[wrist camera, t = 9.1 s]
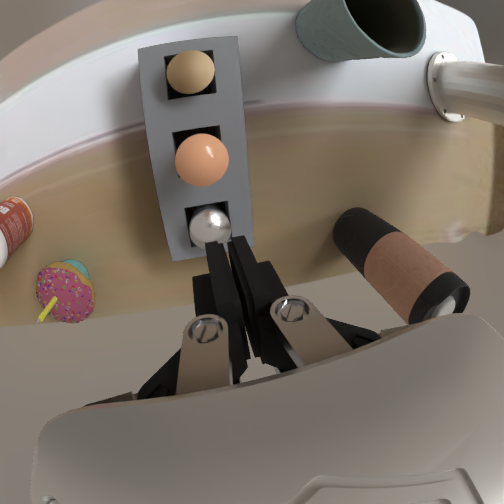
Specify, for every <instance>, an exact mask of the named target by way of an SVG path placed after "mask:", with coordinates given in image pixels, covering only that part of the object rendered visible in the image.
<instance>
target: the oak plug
mask: <svg viewBox="0 0 504 504" xmlns="http://www.w3.org/2000/svg"><path fill="white" fill-rule="evenodd" d="M214 72H215V68H214V64H213V62H212V60H211V58H210V57H209V56H208V55H206V54H205V53H203V52H200V51H196V50H189V51H184V52H182V53H179V54H178V55H176V56H175V57H174V58H173V59H172V60H171V61H170V63H169V65H168V68H167V79H168V81H169V83H170V85H171V86H172V88H173V89H175V90H176V91H178V92H180V93H183V94H194V93H197V92H200V91H202V90H203V89H205V88H206V87H207V86H208V85H209V83H210V82H211V81H212V79H213V76H214Z"/></svg>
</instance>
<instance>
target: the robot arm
mask: <svg viewBox="0 0 504 504" xmlns="http://www.w3.org/2000/svg"><path fill="white" fill-rule="evenodd" d="M427 78H428V88H429V92H430V96H431V98H432V101H433V103H434V106H435V108H436V109H437V111H438V112H439V114H440V115H441V116H442V117H443V118H445V119H446V120H449V121H452V122H459V121H461V120H463V119H464V118H465V116H468V117H472V118H476V119H480V120H484V121H487V122H491V123H494V124H497V125H501V126H504V66H503V65H495V64H488V63H479V62H468V61H459V60H458V59H457V58H456V57H455V56H454V55H453V54H451V53H449V52H438V53H436V54H434V55H433V57H432V58H431V60H430V62H429V66H428V73H427ZM227 246H228V252H229V258H230V264H231V268H230V265H229V261H228V258H227V255H226V251H225V248H224V245H223V243H219V244H218V241H212V242H207V243H205V249H206V255H207V261H208V267H209V272H210V273H208V274H204V275H199V276H194V277H192V281H193V292H194V303H195V313H196V318H194V319H192V320H191V321H190V322H189V323H188V324H187V325H186V326H185V329H184V332H183V339H182V346H181V348H180V350H179V351H178V352H176V353H175V354H174V356H172V357H171V358H170V359H169V360H168V361H167V363H165V364H164V365H163V366H162V367H161V368H160V369H159V370H158V371H157V372H156V373H155V374H154V375H153V376H152V377H151V378H150V379H149V380H148V381H147V382H146V383H145V384H144V385H143V386H142V387H141V389H140V390H139V392H138V393H136V394H133V393H132V392H128V393H125V394H122V395H118V396H115V397H112V398H108V399H105V400H101V401H98V402H94V403H90V404H87V405H85V406H83V407H81V408H77V409H74V410H70V411H67V412H65V413H63V414H61V415H58V416H56V417H55V418H53V419H51V420H50V421H48V422H47V423H46V424H45V426H44V427H43V428H42V430H41V432H40V435H39V437H38V440H37V444H36V449H35V453H34V459H33V466H32V478H31V504H504V338H503V337H502V336H501V335H500V334H499V333H498V332H497V331H495V329H494V328H492V326H490V325H489V324H488V323H487V322H486V321H484V320H483V319H482V318H480V317H478V316H476V315H473V314H468V313H454V314H447V315H443V316H438V317H435V318H432V319H429V320H426V321H423V322H420V323H415V324H411V325H406V326H401V327H396V328H390V329H385V330H381V331H380V333H379V334H377V333H376V332H374V331H371V330H368V329H365V328H361V327H357V326H354V325H350V324H347V323H343V322H339V321H336V320H332V319H329V318H325V317H324V316H323V315H322V314H321V313H320V311H319V310H318V309H317V308H316V307H315V306H314V305H313V304H312V303H311V302H310V301H309V300H308V299H306V298H304V297H301V296H296V295H291V296H289V295H288V294H287V292H286V290H285V288H284V286H283V284H282V282H281V281H280V279H279V277H278V275H277V273H276V271H275V270H274V268H273V266H272V264H271V262H270V261H265V262H260V263H257V261H256V259H255V257H254V255H253V253H252V251H251V248H250V246H249V244H248V242H247V240H246V238H245V236H244V235H242V236H237V237H232V238H231V241H229V242H227ZM231 270H232V271H231ZM245 327H246V329H245ZM246 331H247V334H248V337H249V340H250V343H251V347H252V350H253V353H254V356H255V358H256V357H260V358H261V361H262V363H263V364H265V363H266V364H269V365H271V366H274V368H275V371H276V374H275V375H272V376H268V377H264V378H260V379H256V380H252V381H248V382H243V383H242V382H241V378H240V377H241V375H242V374H243V373H244V372H245V370H246V369H247V367H248V366H247V361H246V360H247V359H251V357H250V352H249V346H248V341H247V335H246Z"/></svg>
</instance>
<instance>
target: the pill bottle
mask: <svg viewBox="0 0 504 504" xmlns="http://www.w3.org/2000/svg"><path fill="white" fill-rule="evenodd" d="M32 228H33V215H32V212H31V210H30V208H29V206H28V205H27V203H26V202H25V201H24V200H22V199H21V198H19V197H9V198H7V199H6V200H4V201H3V202H2V203H0V268H1V267H2V266H3V265H4V264H5V263H6V261H7V260H8V259H9V258H10V257H11V255H12V254H13V253H14V252H15V251H16V250H17V248H18V247H19V246H20V245H21V244H22V243H23V242H24V241H25V240H26V239H27V238H28V236H29V235H30V233H31V231H32Z"/></svg>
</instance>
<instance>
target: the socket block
mask: <svg viewBox="0 0 504 504" xmlns="http://www.w3.org/2000/svg"><path fill="white" fill-rule="evenodd" d="M189 50H196V51H200V52H203V53H205V54H206V55H208V56H209V57H210V58H211V60H212V62H213V64H214V68H215V72H214V76H213V79H212V81H211V82H210V83H211V94H205V95H197V96H190V97H184V98H178V99H172V100H170V90H169V81H168V79H167V65H169V63H170V61H171V60H172V59H173V58H174V57H175V56H176V55H178V54H179V53H182V52H184V51H189ZM138 60H139V73H140V84H141V93H142V102H143V111H144V118H145V126H146V133H147V139H148V146H149V152H150V158H151V164H152V170H153V175H154V180H155V186H156V191H157V196H158V201H159V206H160V210H161V215H162V219H163V224H164V228H165V233H166V237H167V241H168V245H169V249H170V253H171V257H172V261H173V262H175V261H180V260H185V259H191V258H196V257H202V256H207V255H206V249H202V248H200V247H198V246H197V245H195V244H194V242H193V241H192V239H191V237H190V230H189V221H188V216H187V210H186V208H187V207H193V206H198V205H204V204H210V203H216V202H222V201H223V205H224V213H225V214H226V216H227V218H228V220H229V222H230V225H231V234H230V237H229V239H228V241H227V242H229V241H231V238H232V237H237V236H242V235H244V236H245V238H246V240H247V242H248V244H249V246H250V248H251V247H255V244H254V232H253V219H252V206H251V194H250V181H249V169H248V157H247V144H246V132H245V120H244V108H243V96H242V84H241V72H240V60H239V49H238V37H237V36H227V37H213V38H202V39H193V40H185V41H178V42H171V43H166V44H160V45H155V46H150V47H145V48H141V49H138ZM209 126H215V134H216V138H217V139H219V140H220V141H221V142H222V143H223V144H224V146H225V147H226V149H227V152H228V156H229V163H228V167H227V170H226V172H225V174H224V175H223V176H222V177H221V179H219V180H218V181H217V182H215V183H213V184H211V185H208V186H202V187H201V186H193V185H191V184H188V183H187V182H185V181H184V180H183V179H182V178H181V177H180V176H179V174H178V172H177V170H176V166H175V157H176V152H177V148H176V140H175V133H174V132H177V131H183V130H189V129H195V128H202V127H209ZM227 242H226V243H225V244H224V248H225V251H226V252H228V246H227Z"/></svg>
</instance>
